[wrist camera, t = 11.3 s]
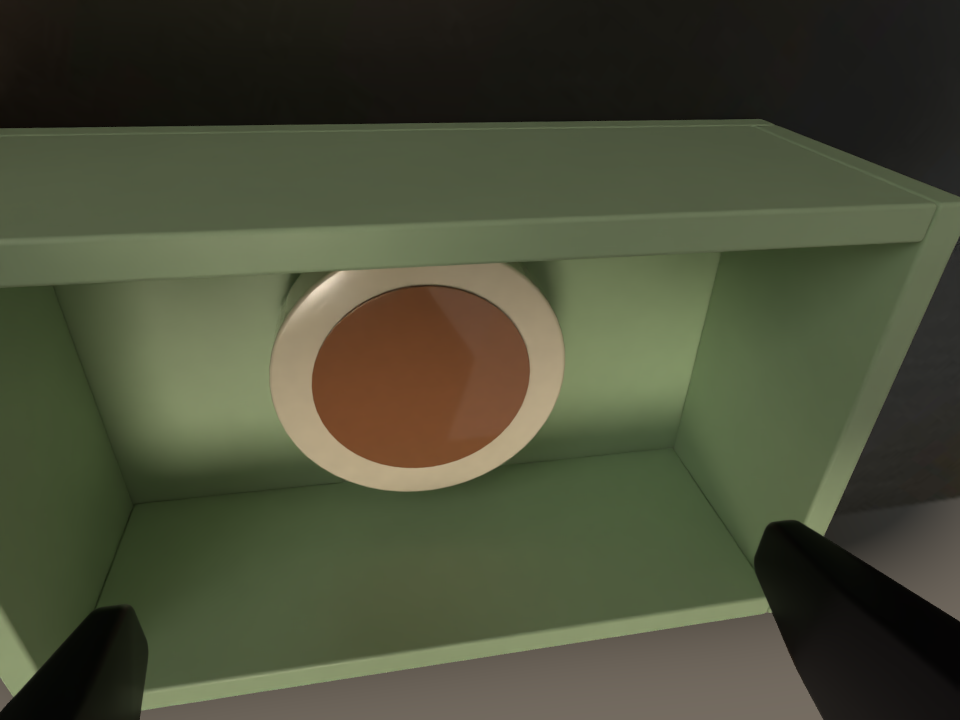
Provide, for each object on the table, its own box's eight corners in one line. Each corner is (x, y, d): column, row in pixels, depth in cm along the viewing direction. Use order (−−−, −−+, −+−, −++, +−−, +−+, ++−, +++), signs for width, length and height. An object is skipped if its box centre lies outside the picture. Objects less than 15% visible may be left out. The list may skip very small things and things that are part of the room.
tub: (120, 505, 16) (31, 729, 11) (-24, 128, 11) (-282, 251, 7) (679, 447, 19) (791, 610, 14) (762, 118, 14) (976, 201, 9)
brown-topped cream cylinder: (253, 419, 15) (242, 474, 13) (311, 171, 12) (306, 204, 10) (489, 459, 17) (505, 510, 15) (585, 254, 14) (616, 291, 12)
